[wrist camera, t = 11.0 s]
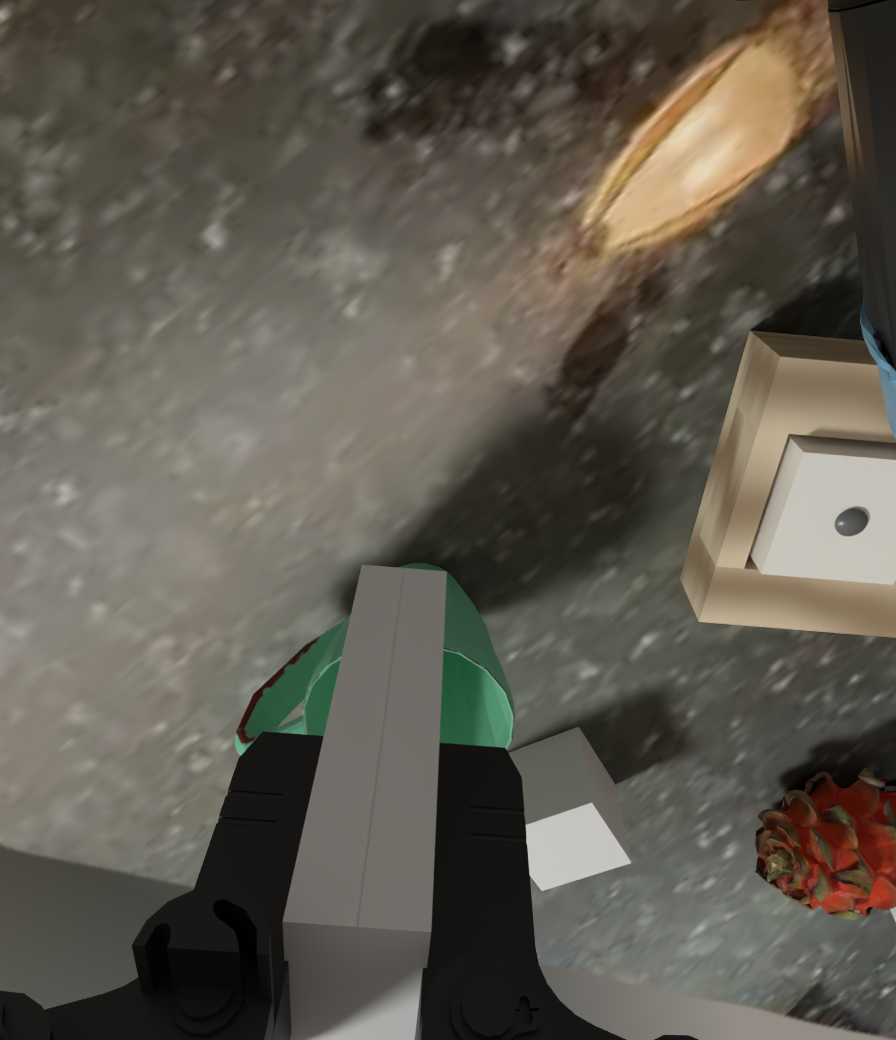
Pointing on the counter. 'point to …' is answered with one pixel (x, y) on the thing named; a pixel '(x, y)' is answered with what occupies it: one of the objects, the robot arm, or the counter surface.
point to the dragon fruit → (832, 846)
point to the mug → (465, 683)
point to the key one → (830, 512)
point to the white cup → (893, 913)
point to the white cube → (569, 811)
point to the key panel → (750, 473)
